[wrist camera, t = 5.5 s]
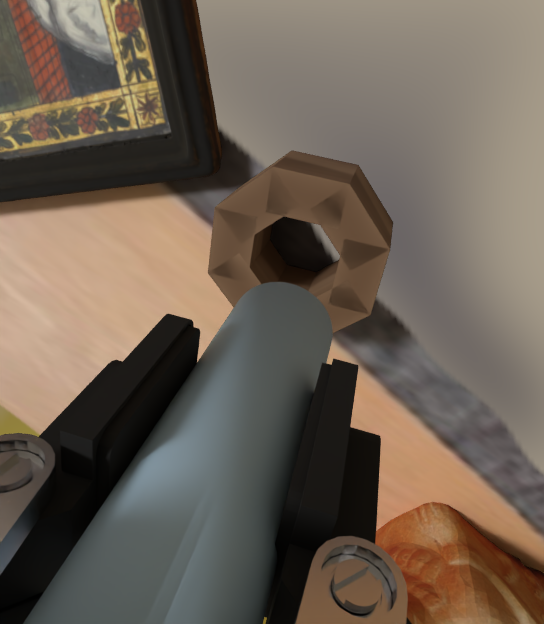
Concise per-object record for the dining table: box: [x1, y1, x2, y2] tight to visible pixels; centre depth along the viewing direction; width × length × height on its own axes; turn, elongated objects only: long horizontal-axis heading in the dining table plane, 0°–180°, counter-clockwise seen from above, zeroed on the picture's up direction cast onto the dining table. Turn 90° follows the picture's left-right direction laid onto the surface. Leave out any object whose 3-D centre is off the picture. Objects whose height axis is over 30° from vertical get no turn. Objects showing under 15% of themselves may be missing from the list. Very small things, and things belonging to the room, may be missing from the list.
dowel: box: [23, 282, 333, 624], centre depth 8 cm, size 3×3×12 cm
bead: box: [208, 151, 393, 333], centre depth 28 cm, size 9×9×4 cm
